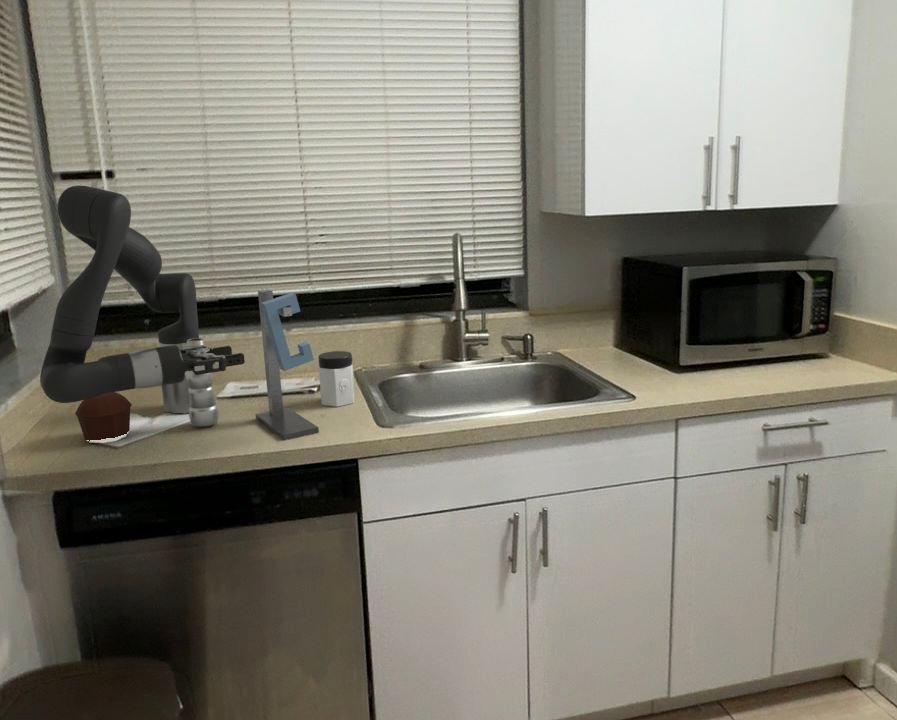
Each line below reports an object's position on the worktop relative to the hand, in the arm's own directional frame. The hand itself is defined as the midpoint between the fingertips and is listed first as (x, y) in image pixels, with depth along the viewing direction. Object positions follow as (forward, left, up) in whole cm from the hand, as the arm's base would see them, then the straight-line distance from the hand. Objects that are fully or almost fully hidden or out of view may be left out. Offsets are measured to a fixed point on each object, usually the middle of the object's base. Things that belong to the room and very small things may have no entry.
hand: (237, 354), depth 156 cm
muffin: (-32, +8, -19) cm, 38 cm away
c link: (+11, +6, -4) cm, 13 cm away
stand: (+7, +10, -19) cm, 23 cm away
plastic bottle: (-12, +13, -19) cm, 26 cm away
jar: (+17, +27, -19) cm, 37 cm away
